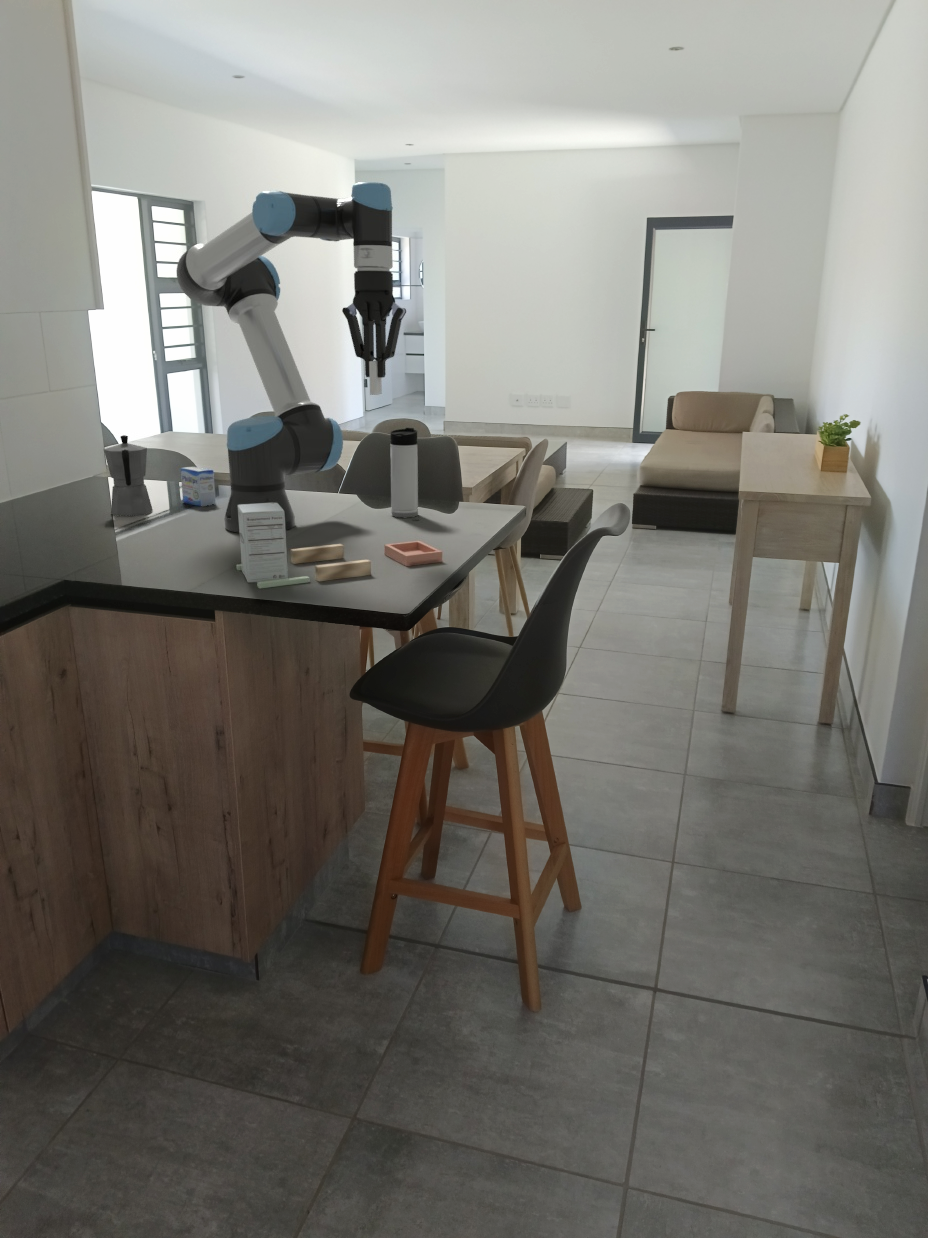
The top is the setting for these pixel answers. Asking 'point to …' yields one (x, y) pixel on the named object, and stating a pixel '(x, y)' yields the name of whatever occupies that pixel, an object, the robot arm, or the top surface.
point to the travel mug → (404, 472)
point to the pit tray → (413, 553)
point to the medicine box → (198, 486)
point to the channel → (333, 569)
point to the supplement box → (263, 542)
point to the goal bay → (279, 582)
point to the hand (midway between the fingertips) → (375, 394)
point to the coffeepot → (128, 479)
